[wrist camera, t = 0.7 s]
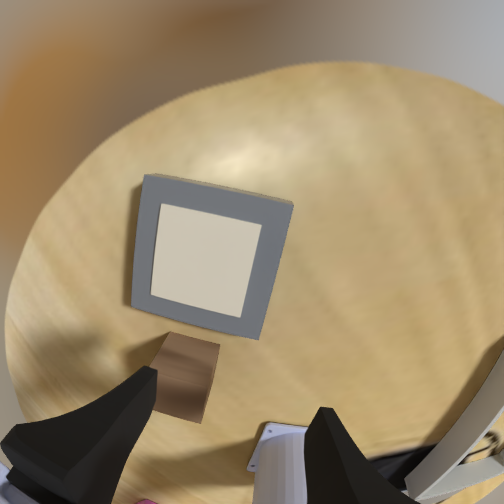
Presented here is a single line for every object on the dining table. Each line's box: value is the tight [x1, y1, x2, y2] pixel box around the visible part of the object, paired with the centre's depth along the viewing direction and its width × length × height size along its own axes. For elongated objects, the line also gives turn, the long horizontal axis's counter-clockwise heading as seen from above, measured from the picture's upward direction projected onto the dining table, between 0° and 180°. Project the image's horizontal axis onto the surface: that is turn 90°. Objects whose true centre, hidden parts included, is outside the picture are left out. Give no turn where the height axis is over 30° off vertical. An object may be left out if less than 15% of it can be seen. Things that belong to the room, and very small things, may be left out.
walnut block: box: [149, 331, 220, 424], centre depth 20 cm, size 4×4×5 cm
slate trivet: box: [131, 174, 294, 340], centre depth 18 cm, size 9×9×2 cm
